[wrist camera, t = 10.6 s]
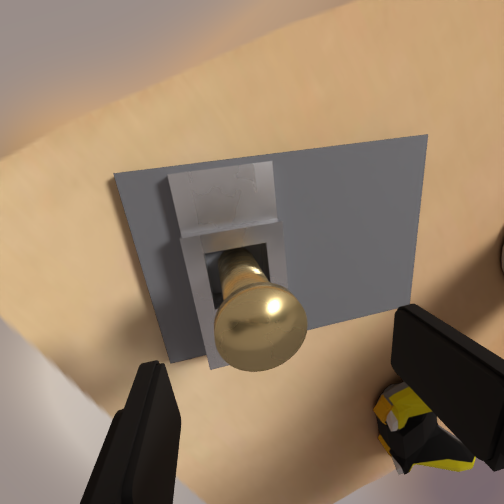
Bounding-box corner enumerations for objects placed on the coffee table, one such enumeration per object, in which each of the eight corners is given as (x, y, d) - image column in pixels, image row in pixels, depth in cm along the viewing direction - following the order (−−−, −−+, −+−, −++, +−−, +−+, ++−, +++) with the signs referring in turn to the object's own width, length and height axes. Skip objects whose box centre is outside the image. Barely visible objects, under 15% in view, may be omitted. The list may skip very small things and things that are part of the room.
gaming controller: (438, 348, 29) (364, 379, 28) (488, 385, 24) (400, 425, 23) (440, 426, 35) (378, 454, 34) (481, 469, 29) (410, 505, 29)
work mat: (417, 136, 20) (428, 134, 19) (401, 300, 26) (409, 305, 25) (118, 173, 17) (113, 173, 16) (171, 355, 22) (170, 363, 21)
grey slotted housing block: (267, 161, 17) (277, 159, 15) (283, 331, 22) (293, 348, 20) (169, 174, 16) (164, 174, 14) (209, 349, 21) (210, 369, 19)
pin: (259, 233, 19) (305, 280, 11) (265, 283, 20) (309, 358, 12) (203, 243, 18) (206, 301, 10) (214, 293, 20) (223, 381, 11)
